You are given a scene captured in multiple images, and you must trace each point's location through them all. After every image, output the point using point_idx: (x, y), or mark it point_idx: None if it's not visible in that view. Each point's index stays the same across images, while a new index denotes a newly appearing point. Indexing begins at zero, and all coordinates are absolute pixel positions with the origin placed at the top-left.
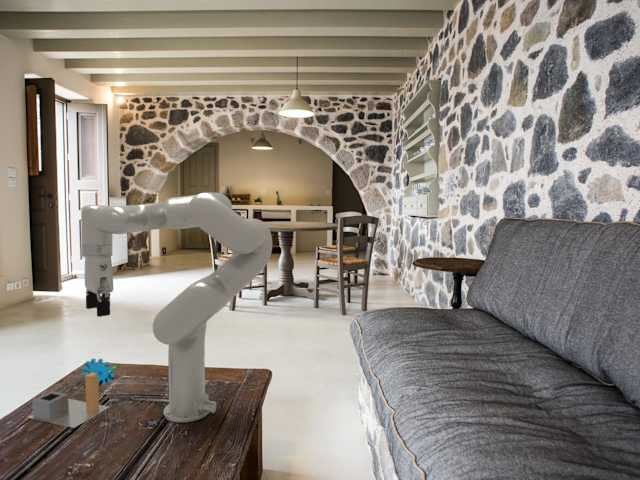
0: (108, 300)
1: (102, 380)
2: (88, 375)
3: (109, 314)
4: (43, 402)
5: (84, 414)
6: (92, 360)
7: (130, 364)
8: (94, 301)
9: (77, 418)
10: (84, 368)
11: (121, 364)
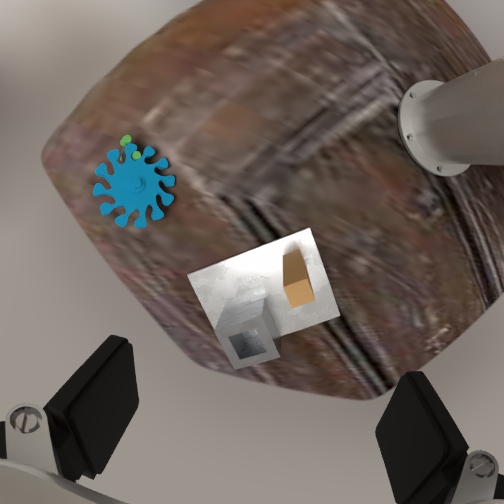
0: (482, 464)
1: (158, 181)
2: (299, 302)
3: (420, 374)
4: (264, 361)
5: None
6: (100, 194)
7: (96, 86)
8: (110, 398)
9: None
10: (123, 222)
11: (82, 104)
